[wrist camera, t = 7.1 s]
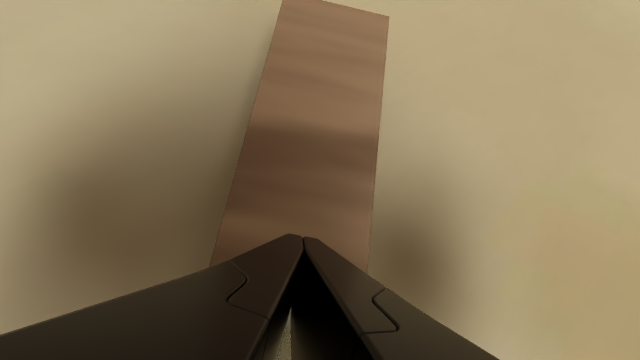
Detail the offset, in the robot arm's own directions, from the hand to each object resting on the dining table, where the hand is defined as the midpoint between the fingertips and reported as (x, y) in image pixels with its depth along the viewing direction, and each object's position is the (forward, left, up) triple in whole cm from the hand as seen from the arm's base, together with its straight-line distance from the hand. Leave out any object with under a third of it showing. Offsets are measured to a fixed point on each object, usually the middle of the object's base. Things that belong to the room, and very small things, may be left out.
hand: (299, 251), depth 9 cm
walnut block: (-2, +1, -5) cm, 5 cm away
